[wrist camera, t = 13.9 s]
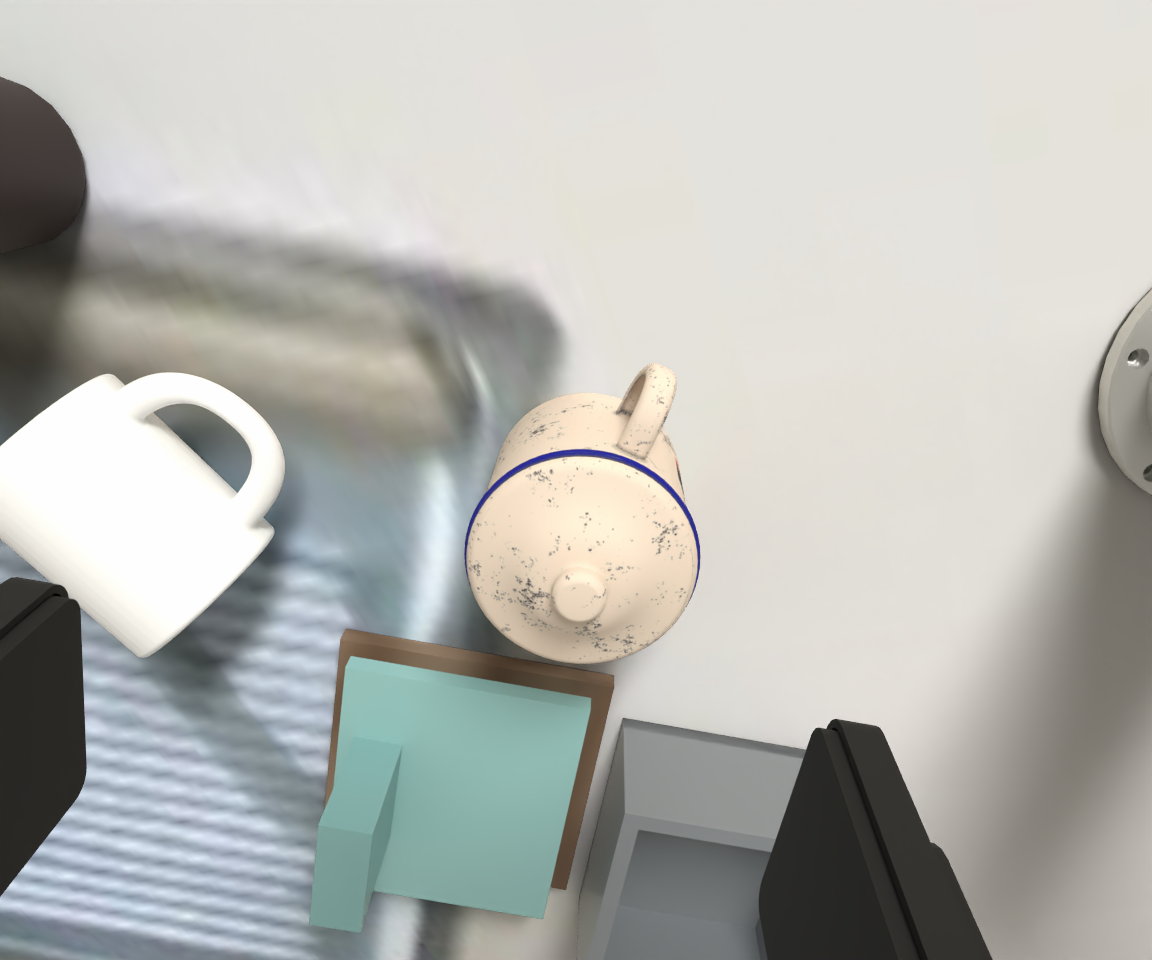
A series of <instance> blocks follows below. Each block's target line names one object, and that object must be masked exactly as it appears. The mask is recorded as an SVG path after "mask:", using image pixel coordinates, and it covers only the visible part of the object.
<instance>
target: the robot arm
mask: <svg viewBox="0 0 1152 960" xmlns="http://www.w3.org/2000/svg"><path fill="white" fill-rule="evenodd" d="M1131 352H1132V355H1131V356H1130V357H1129V358H1128V356H1129V355H1130V354H1131ZM1098 412H1099V419H1100V425H1101V432H1102V435H1103V438H1104V440H1105V443H1106V445H1107V448H1108V450H1109V453H1110V455H1111V456H1112V458H1113V459H1114V461H1115V462H1116V463H1117V465H1118V466H1119V468H1120V469H1121V470H1122V472H1123V473H1124V474H1125V475H1126V476H1127V477H1128V478H1130V479H1131V480H1132V481H1133V482H1134V483H1135V484H1137V485H1138V486H1139V487H1140V488H1141V489H1143V490H1144V491H1146V492H1147V493H1149V494H1150V495H1152V289H1151V290H1150V291H1149V293H1148V294H1147V295H1146V296H1145V297H1144V298H1143V299H1142V300H1141V301H1140V302H1139V303H1138V304H1137V305H1136V307H1135V308H1134V310H1133V311H1132V312H1131V314H1130V315H1129V317H1128V318H1127V320H1126V321H1125V323H1124V324H1123V325H1122V327H1121V328H1120V330H1119V332H1118V334H1117V336H1116V338H1115V340H1114V342H1113V345H1112V347H1111V349H1110V351H1109V353H1108V355H1107V358H1106V361H1105V365H1104V369H1103V373H1102V376H1101V380H1100V386H1099V402H1098ZM85 776H86V742H85V716H84V691H83V666H82V640H81V615H80V606H79V604H78V602H77V601H76V600H74V599H70V598H69V596H68V592H67V591H66V589H65V587H63V586H62V585H59V584H53V583H47V582H41V581H36V580H30V579H24V578H18V577H15V578H10V579H8V580H6V581H4V582H3V583H2V584H0V896H1V895H2V894H3V892H4V891H5V890H6V889H7V887H8V886H9V885H10V884H11V882H12V881H13V880H14V878H15V877H16V876H17V875H18V873H19V872H20V871H21V869H22V868H23V867H24V866H25V864H26V863H27V862H28V860H29V859H30V858H31V857H32V855H33V854H34V853H35V852H36V850H37V849H38V848H39V846H40V845H41V844H42V843H43V841H44V840H45V839H46V837H47V836H48V835H49V834H50V832H51V831H52V830H53V829H54V827H55V826H56V825H57V823H58V822H59V821H60V820H61V818H62V817H63V816H64V814H65V813H66V812H67V811H68V809H69V808H70V807H71V806H72V804H73V803H74V802H75V800H76V799H77V797H78V796H79V793H80V791H81V789H82V787H83V784H84V781H85ZM759 915H760V921H761V927H762V932H763V938H764V943H765V949H766V954H767V960H992V958H991V955H990V953H989V951H988V949H987V946H986V944H985V942H984V940H983V937H982V935H981V933H980V931H979V928H978V926H977V924H976V922H975V919H974V917H973V915H972V913H971V910H970V908H969V906H968V904H967V901H966V899H965V897H964V895H963V892H962V890H961V888H960V886H959V883H958V881H957V879H956V877H955V874H954V872H953V870H952V868H951V865H950V863H949V861H948V859H947V857H946V856H945V854H944V852H943V851H942V849H941V848H940V847H938V846H937V845H936V844H934V843H931V842H930V840H929V838H928V835H927V833H926V831H925V828H924V826H923V824H922V822H921V819H920V817H919V815H918V812H917V810H916V808H915V805H914V803H913V801H912V798H911V796H910V794H909V791H908V789H907V787H906V784H905V782H904V780H903V778H902V775H901V773H900V771H899V768H898V766H897V764H896V761H895V759H894V757H893V754H892V752H891V750H890V747H889V745H888V743H887V740H886V738H885V736H884V734H883V732H882V730H881V729H880V728H879V727H877V726H873V725H868V724H862V723H856V722H850V721H845V720H839V719H834V720H832V721H831V722H830V723H829V724H828V726H827V729H823V728H816V729H815V730H814V731H813V733H812V735H811V738H810V741H809V744H808V746H807V749H806V752H805V755H804V758H803V761H802V764H801V767H800V770H799V773H798V776H797V779H796V782H795V785H794V787H793V790H792V793H791V796H790V799H789V802H788V805H787V808H786V811H785V814H784V817H783V820H782V823H781V825H780V828H779V831H778V834H777V837H776V840H775V843H774V846H773V849H772V852H771V855H770V858H769V861H768V864H767V866H766V869H765V872H764V875H763V878H762V881H761V885H760V891H759Z"/></svg>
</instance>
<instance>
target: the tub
mask: <svg viewBox="0 0 1152 960" xmlns="http://www.w3.org/2000/svg"><path fill="white" fill-rule="evenodd" d="M805 752H806V750H804V749H798V748H793V747H787V746H781V745H775V744H770V743H764V742H758V741H752V740H747V739H741V738H735V737H729V736H724V735H718V734H712V733H707V732H701V731H695V730H689V729H684V728H678V727H672V726H666V725H661V724H655V723H649V722H643V721H638V720H632V719H626V718H623V721H622V725H621V730H620V734H619V738H618V742H617V746H616V750H615V754H614V758H613V762H612V766H611V770H610V774H609V778H608V782H607V786H606V791H605V795H604V799H603V803H602V807H601V811H600V815H599V819H598V823H597V827H596V831H595V835H594V839H593V843H592V848H591V852H590V856H589V860H588V864H587V868H586V872H585V876H584V880H583V884H582V888H581V892H580V896H579V912H578V935H577V958H576V960H767V954H766V949H765V943H764V938H763V932H762V927H761V921H760V915H759V891H760V885H761V881H762V878H763V875H764V872H765V869H766V866H767V864H768V861H769V858H770V855H771V852H772V849H773V846H774V843H775V840H776V837H777V834H778V831H779V828H780V825H781V823H782V820H783V817H784V814H785V811H786V808H787V805H788V802H789V799H790V796H791V793H792V790H793V787H794V785H795V782H796V779H797V776H798V773H799V770H800V767H801V764H802V761H803V758H804V755H805Z"/></svg>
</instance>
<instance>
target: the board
mask: <svg viewBox="0 0 1152 960" xmlns="http://www.w3.org/2000/svg"><path fill="white" fill-rule="evenodd" d="M351 656H354V657H360V658H366V659H371V660H377V661H383V662H388V663H394V664H400V665H406V666H411V667H417V668H423V669H428V670H434V671H440V672H445V673H451V674H457V675H463V676H468V677H474V678H480V679H485V680H491V681H497V682H503V683H508V684H514V685H520V686H525V687H531V688H537V689H543V690H548V691H554V692H560V693H565V694H571V695H577V696H582V697H588V698H591V711H590V715H589V720H588V724H587V728H586V733H585V737H584V742H583V746H582V750H581V755H580V759H579V763H578V768H577V772H576V777H575V781H574V785H573V790H572V794H571V798H570V803H569V807H568V812H567V816H566V820H565V825H564V829H563V833H562V838H561V842H560V847H559V851H558V855H557V860H556V864H555V868H554V873H553V877H552V882H551V886H550V887H551V888H557V889H563V890H566V887H567V883H568V879H569V875H570V871H571V866H572V862H573V858H574V854H575V849H576V845H577V841H578V837H579V833H580V828H581V824H582V820H583V816H584V811H585V807H586V803H587V799H588V795H589V790H590V786H591V782H592V778H593V774H594V769H595V765H596V761H597V757H598V752H599V748H600V744H601V740H602V736H603V731H604V727H605V723H606V719H607V714H608V710H609V706H610V702H611V698H612V693H613V689H614V676H613V675H607V674H601V673H596V672H590V671H584V670H579V669H573V668H567V667H562V666H556V665H550V664H544V663H539V662H533V661H527V660H522V659H516V658H510V657H505V656H499V655H493V654H488V653H482V652H476V651H470V650H465V649H459V648H453V647H448V646H442V645H436V644H431V643H425V642H419V641H414V640H408V639H402V638H396V637H391V636H385V635H379V634H374V633H368V632H362V631H357V630H351V629H346V630H345V632H344V634H343V635H342V637H341V640H340V651H339V661H338V672H337V682H336V693H335V703H334V714H333V724H332V735H331V746H330V756H329V767H328V777H327V788H326V798H325V807H326V805H327V803H328V800H329V798H330V795H331V793H332V791H333V786H334V776H335V766H336V756H337V746H338V736H339V726H340V716H341V706H342V696H343V686H344V676H345V667H346V665H347V663H348V661H349V659H350V657H351ZM324 810H325V809H324Z"/></svg>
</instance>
